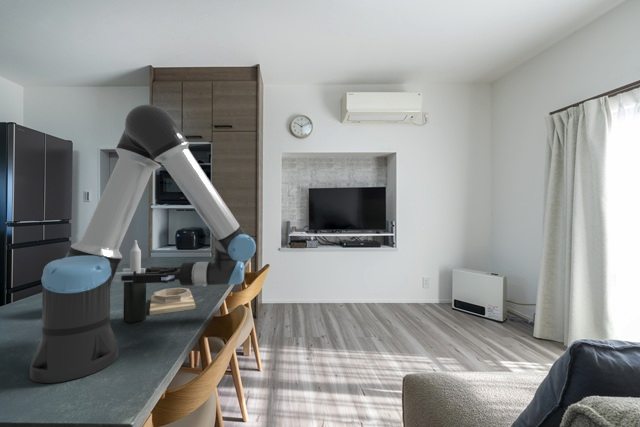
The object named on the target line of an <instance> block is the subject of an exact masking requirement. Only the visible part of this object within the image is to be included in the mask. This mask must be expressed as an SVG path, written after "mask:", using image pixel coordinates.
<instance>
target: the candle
mask: <svg viewBox="0 0 640 427" xmlns="http://www.w3.org/2000/svg"><path fill="white" fill-rule="evenodd" d="M141 262H142V251H141V249H140V247H139V245H138V240H136V239H135V240H134V241H133V246H132V248H131V249H130V251H129V269H130V273H133V271H136V273H141V268H142V263H141ZM122 315H123V322H127V323H128V324H131V323H132V324H133V323H136V322H139V321H143V320H146V319H147V283H137V284H133V282H123V314H122Z"/></svg>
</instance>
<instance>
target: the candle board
mask: <svg viewBox="0 0 640 427" xmlns="http://www.w3.org/2000/svg"><path fill="white" fill-rule="evenodd" d="M195 302H196V301H195V300H194V297H193V294H192V291H191V290H190V288H185V287H172V288H164V289H161V290H157V291H154V292H153V295H151V296H150V305H149V306H150V307H149V316H155V315H160V314H167V313H175V312H182V311H183V312H184V311H190V310H196V303H195Z"/></svg>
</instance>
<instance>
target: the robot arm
mask: <svg viewBox="0 0 640 427" xmlns="http://www.w3.org/2000/svg"><path fill="white" fill-rule="evenodd" d="M189 145H190V142H189V140H188V139H187V138H186V136H185V134H184V133H183V131H182V130H181V128H180V127H179V125H178V124H177V122H176V120H175V119H174V118H173V116H171V114H170V113H169V112H167V110H165V109H163V108H162V107H160V106H157V105H154V104H140V105H137V106H135V107H133V108H132V109H131V110H130V111H129V112H128V114H127V116H126V117H125V123H124V129H123V132H122V134H121V137H120V139H119V142H118V144H117V146H116V148H115V152H116V154H117V155H118V159H117V162H116V163H115V166H114V169H113V171H112V172H111V175H110V177H109V179H108V181H107V183H106V186H105V188H104V190H103V192H102V194H101V197H100V198H99V200H98V203H97V205H96V207H95V210H94V212H93V214H92V216H91V218H90V221H89V223H88V225H87V227H86V229H85V231H84V234H83V236H82V237H81V240H79V241H77V242H75V243H73V244H70V247H69V249H68V252H67V253H66V255H65V257H63V258H60V259H55V260H52V261H50V262H48V263H47V264H46V265H45V266H44V267H43V271H42V275H41V284H42V290H41V291H42V292H41V293H42V300H41V302H42V305H41V306H42V307H41V308H42V309H41V310H42V313H41V315H42V316H41V324H42V325H41V327H42V328H41V338H40V341H39V343H38V345H37V348H36V350H35V353H34V354H33V355H34V356H33V358H32V360H31V363H30V366H29V379H30V380H31V381H33V382H35V383H41V384H51V383H52V384H55V383H61V382H66V381H67V382H68V381H72V380H76V379H77V380H78V379H79V378H83V377H87V376H89V375H91V374H96V373H98V372H99V371H102V370H103V369H106V368H107V367H109V366H110V365H112V364H113V363H114V362H115V361H116V360H117V358H118V357H119V350H120V349H119V348H120V346H119V343H118V340H117V338H116V336H115V333H114V330H113V328H112V326H111V289H112V288H111V287H112V283H124V282H133V284H137V283H146V284H158V283H159V284H168V283H171V282H172V283H173V282H175V281H177V280H178V281H179V284H180V286H182V287H193V286H202V287H203V288H205V287H206V286H232V285H233V286H234V285H241V284H242V283H243V282H244V278H245V261H246V262H247V261H248V260H250V259H252V257H254V254H255V253H256V250H257V244H256V241H255V240H254V238H252V237H251V236H250V235H248V234H247V233H246V232H245V231H244V229H243V228H242V227H241V225H240V224H239V222H238V221H237V219H236V218H235V216H234V214H233V213H232V212H231V210H230V209H229V207H228V206H227V204H226V203H225V201H224V200H223V198H222V197H221V195H220V194H219V192H218V191H217V189H216V188H215V187H214V185H213V183H212V181H211V180H210V179H209V177H208V176H207V174H206V173H205V172H204V170H203V169H202V167H201V165H200V164H199V163H198V161H197V160H196V158H195V157H194V155H193V153H192V152H191V150H190V148H189ZM162 165H163V168H165V170H166V171H167V172H168V174H169V175H170V177H171V178H172V180H174V182H175V184H176V185H177V186H178V188H179V190H181V192H182V194H184V197H186V199H187V200H188V201H189V203H190V205H192V207H193V208H194V210H195V211H196V212H197V214H198V215H199V217H200V219H202V221H203V222H204V223H205V225H206V226H207V228H208V229H209V231H210V232H211V233H212V234H213V261H197V262H194V261H185V262H183V263H181V265H180V266H151V267H147V268H146V267H145V268H142V267H141V273H136V271H133V273H130V268H123V269H122V272H117V270H118V268H119V267H120V266H119V265H120V263H121V261H122V259H123V254H121V252H120V248H121V245H122V242H124V241H123V240H124V238H125V236H126V233H127V231H128V229H129V226H130V225H131V222H132V219H133V218H134V215H135V213H136V211H137V208H138V207H139V203H140V201H141V199H142V197H143V194H144V192H145V190H146V187H147V184H148V182H149V181H150V177H151V175H152V173H153V171H155V170H157V169H158V170H159V169H160V168H161V167H162Z"/></svg>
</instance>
